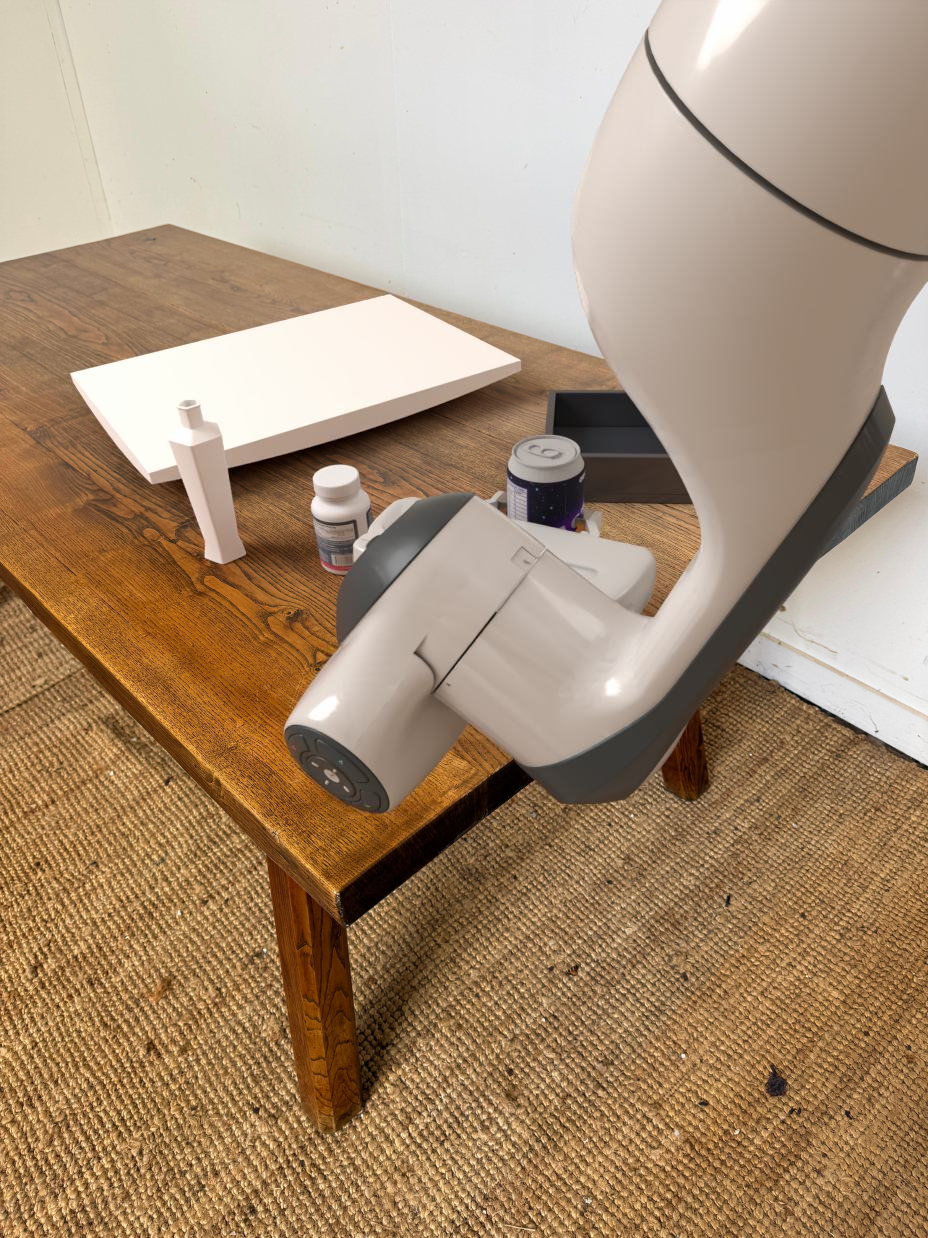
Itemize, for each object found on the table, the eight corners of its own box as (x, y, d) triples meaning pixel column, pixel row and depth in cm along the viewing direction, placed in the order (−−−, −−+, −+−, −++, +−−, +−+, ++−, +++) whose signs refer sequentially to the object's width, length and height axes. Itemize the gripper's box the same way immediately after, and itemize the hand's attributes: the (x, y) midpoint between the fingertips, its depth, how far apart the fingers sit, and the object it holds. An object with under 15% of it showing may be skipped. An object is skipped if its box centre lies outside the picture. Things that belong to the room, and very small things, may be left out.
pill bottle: (350, 538, 84) (338, 454, 78) (389, 557, 81) (379, 471, 76) (309, 563, 81) (292, 478, 75) (348, 583, 78) (334, 496, 73)
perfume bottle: (261, 546, 84) (228, 397, 74) (229, 569, 81) (190, 417, 71) (226, 534, 86) (190, 387, 76) (193, 556, 83) (151, 407, 74)
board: (392, 326, 129) (389, 293, 126) (521, 397, 107) (521, 360, 104) (82, 408, 111) (70, 372, 108) (161, 514, 89) (148, 473, 86)
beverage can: (555, 615, 67) (558, 476, 60) (495, 591, 70) (490, 455, 63) (594, 579, 71) (600, 443, 63) (535, 558, 74) (534, 425, 66)
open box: (688, 432, 98) (693, 389, 95) (702, 504, 86) (708, 457, 83) (548, 431, 100) (548, 389, 97) (542, 501, 88) (542, 456, 85)
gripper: (622, 609, 51) (688, 498, 61) (332, 537, 59) (431, 448, 69) (616, 689, 55) (679, 573, 65) (345, 611, 63) (436, 518, 73)
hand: (549, 508), depth 67 cm, fingers closed on beverage can, 5 cm apart
